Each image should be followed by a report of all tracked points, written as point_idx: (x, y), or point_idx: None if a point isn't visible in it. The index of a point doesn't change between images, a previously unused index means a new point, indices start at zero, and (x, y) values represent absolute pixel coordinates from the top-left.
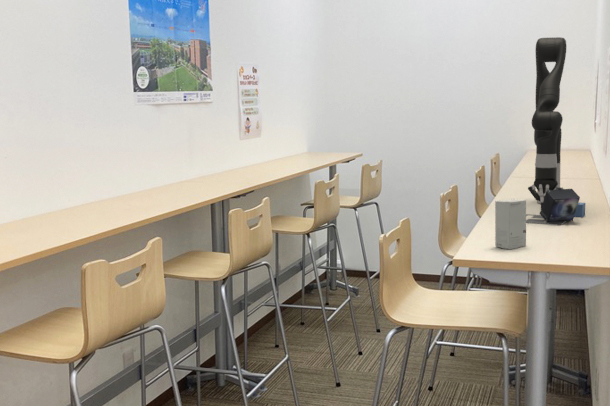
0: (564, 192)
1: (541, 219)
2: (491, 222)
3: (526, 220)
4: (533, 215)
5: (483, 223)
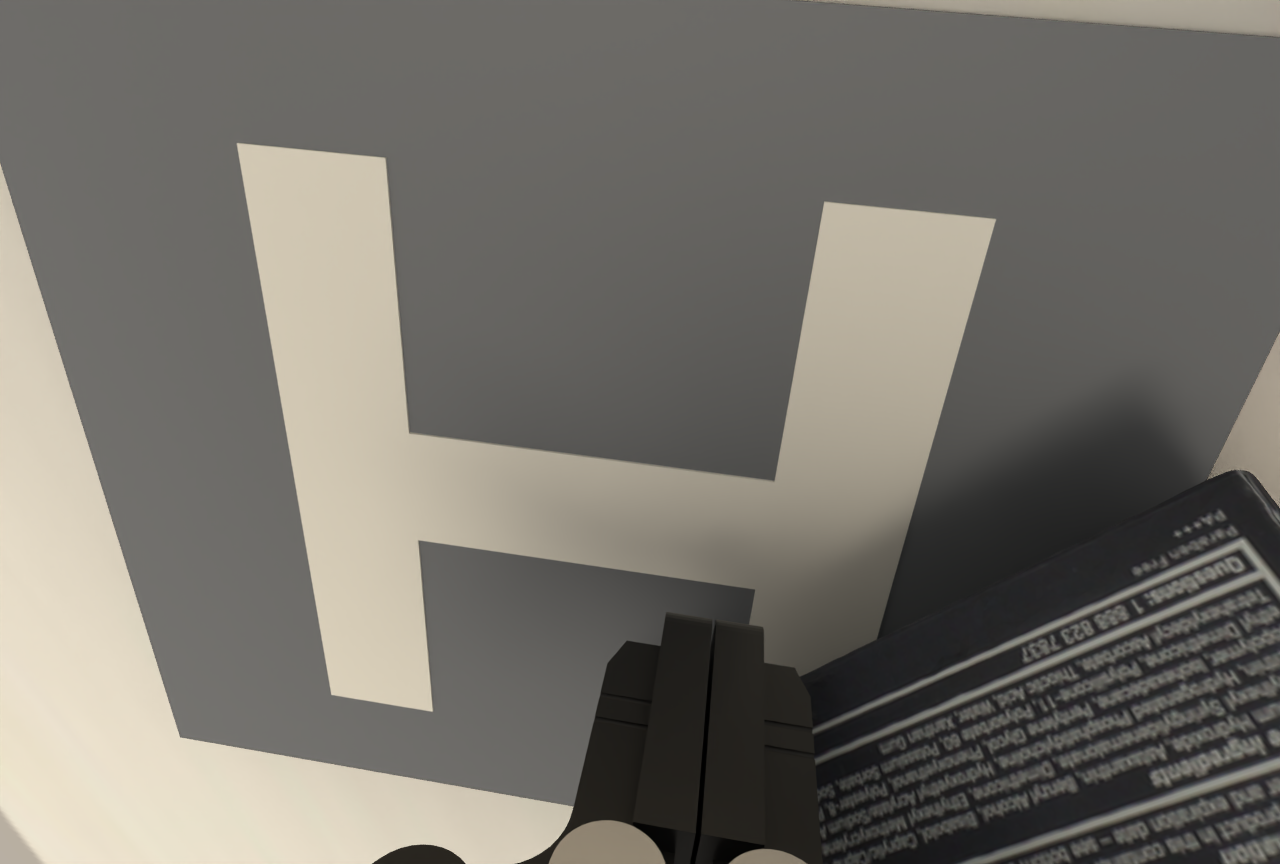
0: None
1: (653, 564)
2: (74, 786)
3: (436, 667)
4: (349, 108)
5: (39, 839)
